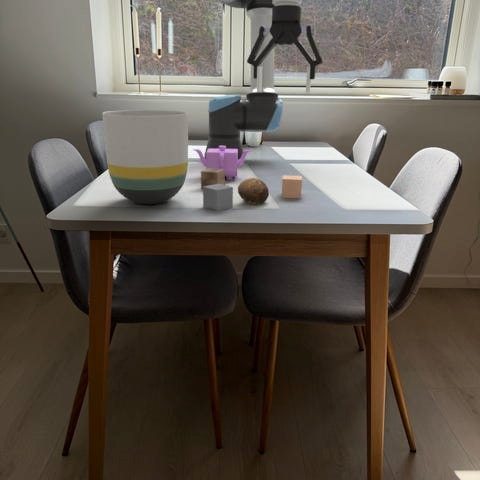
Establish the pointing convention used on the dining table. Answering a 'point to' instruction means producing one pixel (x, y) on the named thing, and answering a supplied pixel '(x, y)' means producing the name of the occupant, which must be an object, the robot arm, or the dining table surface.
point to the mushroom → (253, 191)
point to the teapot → (223, 160)
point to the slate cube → (217, 197)
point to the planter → (146, 153)
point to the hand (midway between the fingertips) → (283, 92)
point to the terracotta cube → (291, 186)
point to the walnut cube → (212, 177)
